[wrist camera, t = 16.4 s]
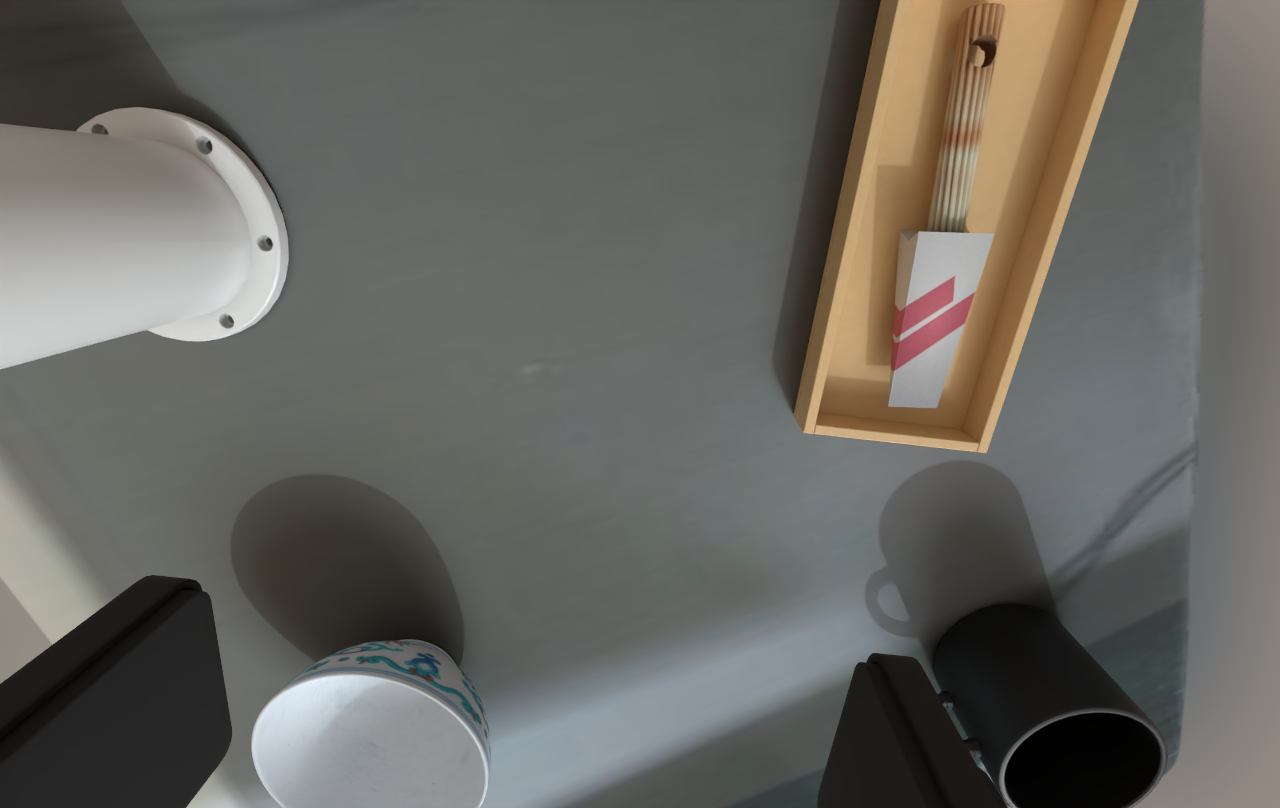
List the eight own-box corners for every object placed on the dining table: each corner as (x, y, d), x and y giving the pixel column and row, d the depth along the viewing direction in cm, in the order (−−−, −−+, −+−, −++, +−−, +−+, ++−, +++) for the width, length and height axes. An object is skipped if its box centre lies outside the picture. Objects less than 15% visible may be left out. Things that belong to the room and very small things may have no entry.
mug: (888, 622, 42) (946, 731, 34) (1065, 589, 41) (1172, 694, 32) (903, 721, 45) (960, 844, 37) (1068, 693, 44) (1167, 815, 35)
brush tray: (792, 415, 37) (803, 432, 35) (889, -45, 29) (913, -68, 26) (963, 434, 37) (986, 453, 35) (1107, -19, 29) (1152, -39, 27)
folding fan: (887, 413, 33) (959, -3, 27) (870, 399, 36) (933, 16, 30) (957, 417, 33) (1045, -1, 27) (935, 403, 36) (1011, 19, 30)
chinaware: (317, 574, 42) (246, 654, 35) (527, 611, 43) (500, 697, 35) (316, 731, 47) (253, 829, 40) (503, 762, 48) (475, 864, 40)
